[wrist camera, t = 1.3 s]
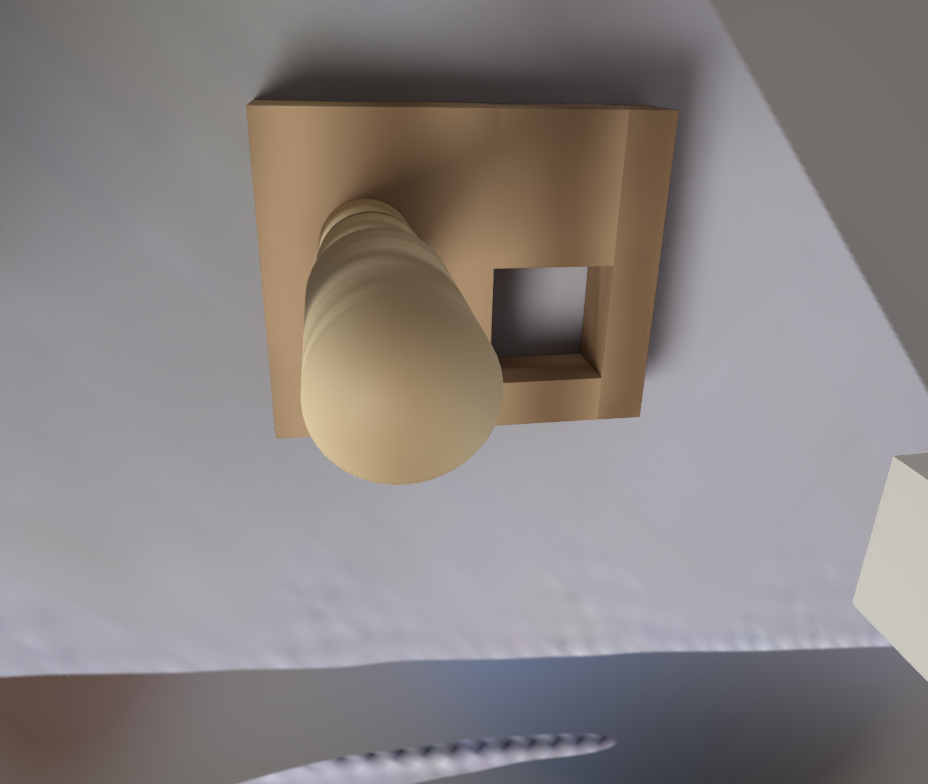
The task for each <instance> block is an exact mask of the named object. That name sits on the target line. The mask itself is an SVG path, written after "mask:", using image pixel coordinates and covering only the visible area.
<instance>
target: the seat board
mask: <svg viewBox="0 0 928 784" xmlns="http://www.w3.org/2000/svg"><path fill="white" fill-rule="evenodd" d="M246 109H247V121H248V132H249V143H250V154H251V165H252V177H253V188H254V199H255V210H256V221H257V233H258V244H259V255H260V266H261V278H262V289H263V300H264V311H265V322H266V334H267V345H268V356H269V367H270V378H271V390H272V401H273V412H274V423H275V434H276V438H293V437H310V433H309V431H308V429H307V427H306V424H305V421H304V418H303V414H302V407H301V375H302V354H303V334H304V313H305V293H306V286H307V282H308V278H309V275H310V273H311V270H312V268H313V266H314V264H315V263H316V260H317V254H318V251H319V237H320V232H321V229H322V227H323V224H324V222H325V221H326V219H327V218H328V216H329V215H330V214H331V213H332V212H333V211H334V210H335V209H336V208H338V207H339V206H341V205H342V204H344V203H346V202H349V201H352V200H356V199H363V198H368V199H376V200H380V201H383V202H385V203H387V204H389V205H391V206H392V207H394V208H395V209H396V210H398V211H399V212H400V213H401V214H402V216H403V217H404V218H405V220H406V221H407V223H408V225H409V227H410V228H411V229H412V231H413V232H414V233H415V234H416V235H417V237H418V238H419V239H421V240H422V241H424V242H425V243H426V244H428V245H429V246H430V247H431V248H432V249H433V250H434V251H435V252H436V253H437V254H438V256H439V257H440V259H441V260H442V262H443V263H444V265H445V266H446V268H447V270H448V271H449V273H450V275H451V277H452V278H453V280H454V282H455V283H456V285H457V287H458V288H459V290H460V292H461V294H462V295H463V297H464V299H465V300H466V302H467V304H468V305H469V307H470V309H471V311H472V312H473V314H474V316H475V317H476V319H477V321H478V322H479V324H480V326H481V328H482V329H483V331H484V333H485V334H486V336H487V338H488V339H489V341H490V343H491V326H492V300H493V274H494V269H502V268H543V267H584V266H588V272H587V283H586V294H585V306H584V317H583V328H582V339H581V350H580V353H578V354H556V355H533V356H511V357H498V360H499V363H500V366H501V370H502V376H503V399H502V405H501V409H500V413H499V416H498V419H497V421H496V424H495V425H511V424H528V423H544V422H561V421H578V420H595V419H611V418H628V417H640V410H641V402H642V394H643V386H644V379H645V371H646V363H647V355H648V348H649V340H650V332H651V324H652V317H653V309H654V301H655V293H656V286H657V278H658V270H659V262H660V255H661V247H662V239H663V231H664V224H665V216H666V208H667V200H668V193H669V185H670V177H671V169H672V162H673V154H674V146H675V138H676V131H677V123H678V115H679V110H674V109H668V108H662V107H656V106H651V105H599V104H520V103H440V102H360V101H281V100H252V101H251V102H250V103H249V104H247V105H246Z"/></svg>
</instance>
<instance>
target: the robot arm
mask: <svg viewBox="0 0 928 784" xmlns="http://www.w3.org/2000/svg"><path fill="white" fill-rule="evenodd" d="M852 604H853V605H854V606H855V607H856V608H857V609H858V610H859V611H860V612H861V613H862V614H863V615H864V616H865V617H866V618H867V619H868V620H869V621H870V622H871V624H872V625H873V626H874V627H875V628H876V629H877V630H878V631H879V632H880V633H881V634H882V635H883V636H884V637H885V638H886V639H887V640H888V641H889V642H890V643H891V644H892V645H893V646H894V647H895V648H896V649H897V650H898V651H899V652H900V653H901V654H902V656H904V658H905V659H906V660H907V661H908V662H909V663H910V664H911V665H912V666H913V667H914V668H915V669H916V670H917V671H918V672H919V673H920V674H921V675H922V676H923V677H924V678H925V679H926V680H927V681H928V453H923V454H911V455H900V456H893V460H892V463H891V467H890V470H889V474H888V477H887V481H886V485H885V488H884V492H883V495H882V499H881V502H880V506H879V509H878V513H877V517H876V520H875V524H874V527H873V531H872V534H871V538H870V542H869V545H868V549H867V552H866V556H865V559H864V563H863V567H862V570H861V574H860V577H859V581H858V584H857V588H856V592H855V595H854V599H853V602H852Z"/></svg>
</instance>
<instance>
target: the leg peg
mask: <svg viewBox="0 0 928 784" xmlns="http://www.w3.org/2000/svg"><path fill="white" fill-rule="evenodd" d="M502 399H503V376H502V370H501V366H500V363H499V360H498V357H497V355H496V353H495V350H494V348H493V346H492V345H491V343H490V341H489V339H488V338H487V336H486V334H485V333H484V331H483V329H482V328H481V326H480V324H479V322H478V321H477V319H476V317H475V316H474V314H473V312H472V311H471V309H470V307H469V305H468V304H467V302H466V300H465V299H464V297H463V295H462V294H461V292H460V290H459V288H458V287H457V285H456V283H455V282H454V280H453V278H452V277H451V275H450V273H449V271H448V270H447V268H446V266H445V265H444V263H443V262H442V260H441V259H440V257H439V256H438V254H437V253H436V252H435V251H434V250H433V249H432V248H431V247H430V246H429V245H428V244H426V243H425V242H424V241H422V240H421V239H419V238H418V237H417V235H416V234H415V233H414V232H413V231H412V229H411V228H410V227H409V225H408V223H407V221H406V220H405V218H404V217H403V216H402V214H401V213H400V212H399V211H398V210H396V209H395V208H394V207H392V206H391V205H389V204H387V203H385V202H383V201H380V200H376V199H368V198H363V199H356V200H352V201H349V202H346V203H344V204H342V205H341V206H339V207H338V208H336V209H335V210H334V211H333V212H332V213H331V214H330V215H329V216H328V218H327V219H326V221H325V222H324V224H323V227H322V229H321V232H320V237H319V251H318V254H317V260H316V263H315V264H314V266H313V268H312V270H311V273H310V275H309V278H308V282H307V286H306V293H305V313H304V334H303V354H302V375H301V407H302V414H303V418H304V421H305V424H306V427H307V429H308V431H309V433H310V436H311V438H312V439H313V441H314V442H315V444H316V445H317V447H318V448H319V449H320V450H321V451H322V453H323V454H324V455H325V456H326V457H327V458H328V459H329V460H331V461H332V462H333V463H334V464H335V465H337V466H338V467H340V468H341V469H343V470H344V471H346V472H348V473H350V474H352V475H354V476H356V477H359V478H362V479H365V480H368V481H372V482H376V483H382V484H392V485H400V484H413V483H419V482H423V481H427V480H431V479H434V478H436V477H439V476H442V475H444V474H446V473H448V472H450V471H452V470H454V469H455V468H457V467H458V466H460V465H461V464H463V463H464V462H465V461H467V460H468V459H469V458H470V457H471V456H473V455H474V454H475V453H476V451H477V450H478V449H479V448H480V447H481V446H482V445H483V443H484V442H485V441H486V439H487V438H488V437H489V435H490V433H491V431H492V430H493V428H494V426H495V424H496V421H497V419H498V416H499V413H500V409H501V405H502Z"/></svg>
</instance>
